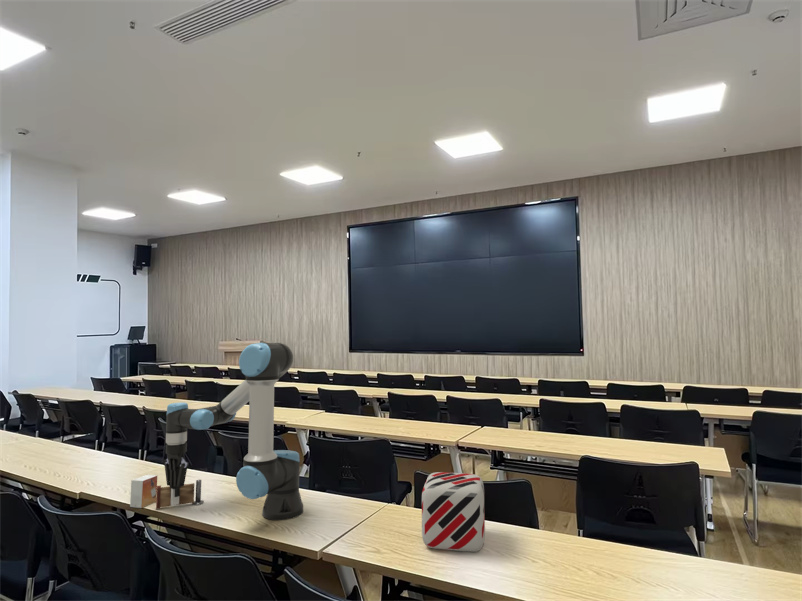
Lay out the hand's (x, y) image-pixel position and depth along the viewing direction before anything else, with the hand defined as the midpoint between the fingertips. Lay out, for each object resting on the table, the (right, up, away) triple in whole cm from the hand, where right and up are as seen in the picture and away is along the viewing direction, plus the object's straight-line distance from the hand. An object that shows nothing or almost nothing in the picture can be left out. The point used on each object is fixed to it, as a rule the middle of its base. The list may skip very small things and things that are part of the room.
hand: (174, 504), depth 178 cm
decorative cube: (+106, 0, -28) cm, 109 cm away
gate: (-1, -2, +3) cm, 4 cm away
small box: (-15, -3, +6) cm, 17 cm away
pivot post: (+6, -2, +7) cm, 9 cm away
